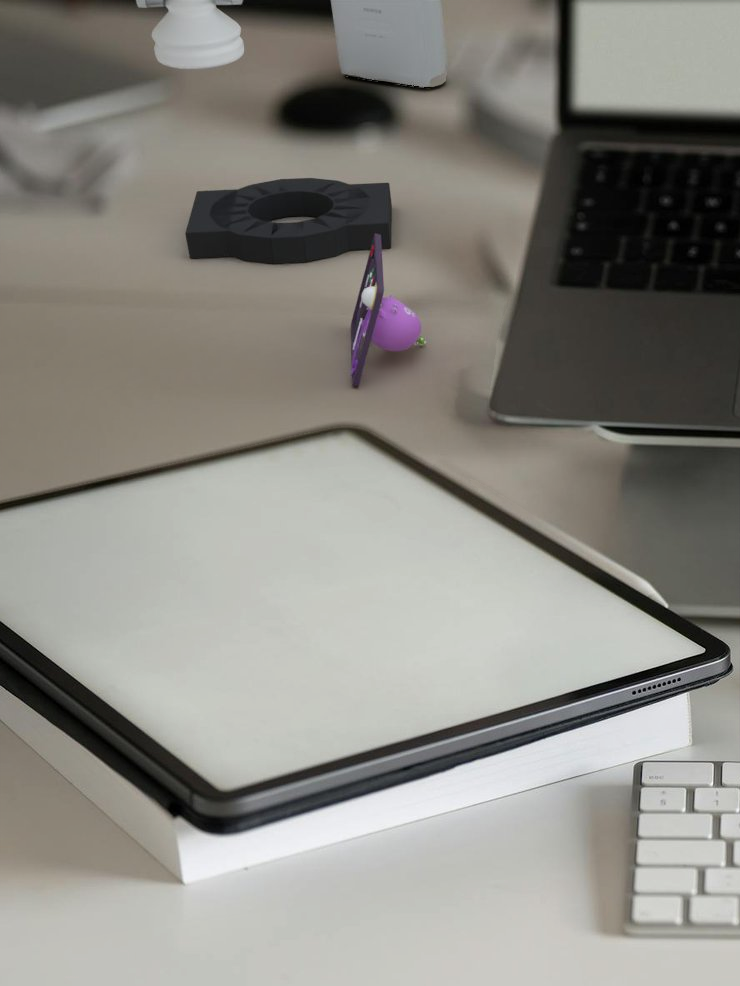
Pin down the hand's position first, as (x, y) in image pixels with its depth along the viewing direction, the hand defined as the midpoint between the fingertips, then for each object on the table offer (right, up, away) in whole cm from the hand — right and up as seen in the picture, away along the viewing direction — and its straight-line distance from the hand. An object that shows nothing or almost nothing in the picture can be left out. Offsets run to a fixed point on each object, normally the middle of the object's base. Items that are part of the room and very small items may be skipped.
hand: (192, 3), depth 99 cm
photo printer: (-2, +11, +57) cm, 58 cm away
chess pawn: (0, -3, +2) cm, 3 cm away
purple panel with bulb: (+9, -19, +11) cm, 24 cm away
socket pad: (-2, -9, +27) cm, 28 cm away
